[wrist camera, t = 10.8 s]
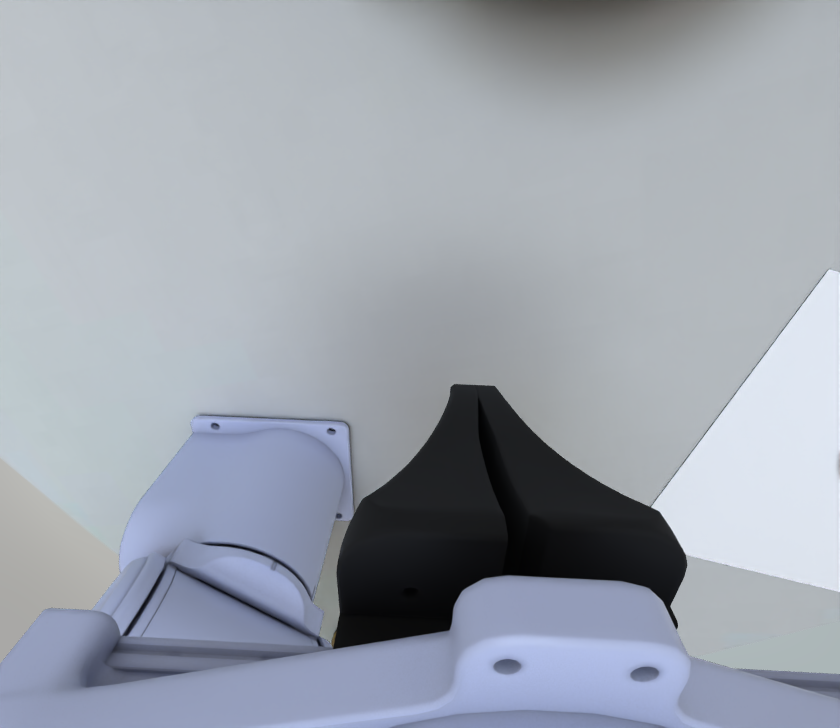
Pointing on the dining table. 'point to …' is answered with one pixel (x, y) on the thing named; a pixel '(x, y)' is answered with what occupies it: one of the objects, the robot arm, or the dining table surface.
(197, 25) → the dining table surface
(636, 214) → the dining table surface
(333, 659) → the robot arm
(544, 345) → the dining table surface
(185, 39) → the dining table surface
